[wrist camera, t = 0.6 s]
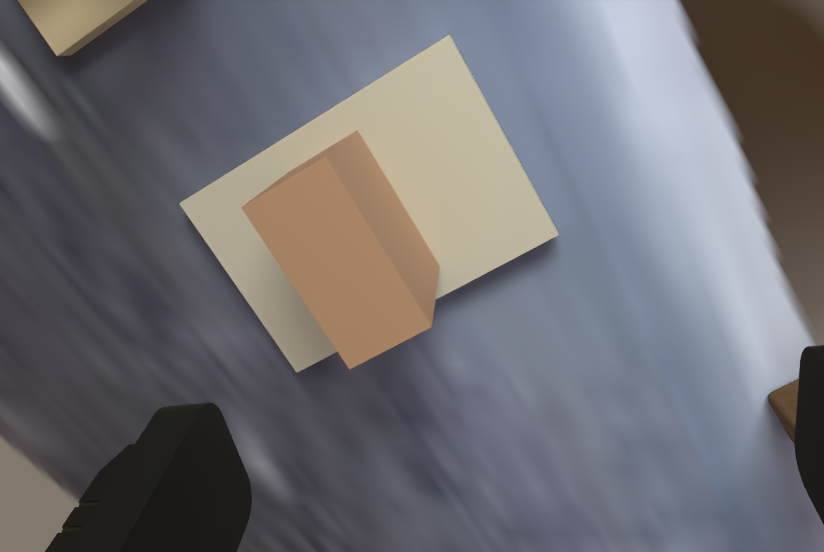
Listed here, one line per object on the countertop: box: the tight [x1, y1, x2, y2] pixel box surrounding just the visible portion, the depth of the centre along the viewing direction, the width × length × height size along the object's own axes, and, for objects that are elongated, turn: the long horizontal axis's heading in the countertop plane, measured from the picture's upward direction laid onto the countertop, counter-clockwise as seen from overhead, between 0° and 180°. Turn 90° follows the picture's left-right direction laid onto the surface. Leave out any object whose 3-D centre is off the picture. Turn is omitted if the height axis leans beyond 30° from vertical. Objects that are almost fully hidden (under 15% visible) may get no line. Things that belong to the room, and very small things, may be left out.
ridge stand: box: [179, 35, 559, 373], centre depth 32 cm, size 11×16×10 cm
